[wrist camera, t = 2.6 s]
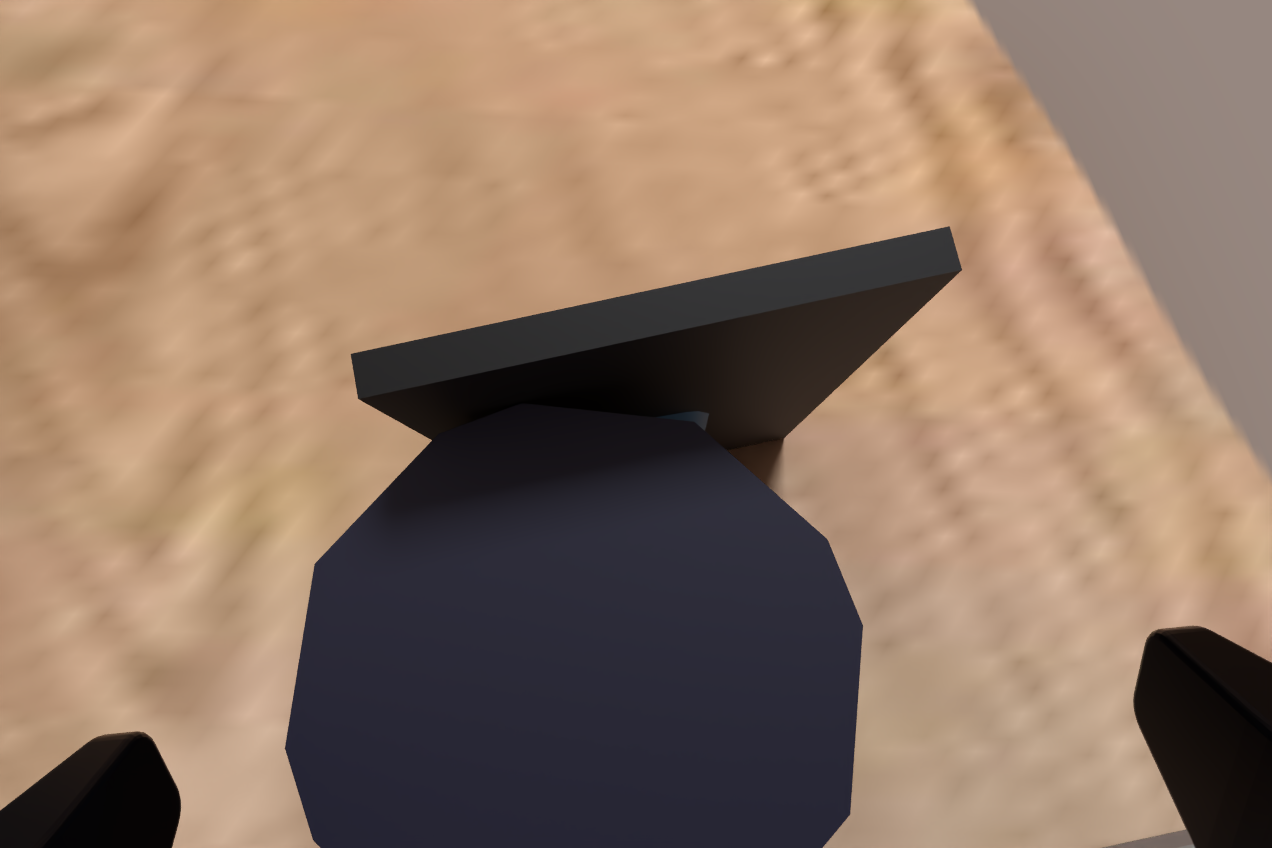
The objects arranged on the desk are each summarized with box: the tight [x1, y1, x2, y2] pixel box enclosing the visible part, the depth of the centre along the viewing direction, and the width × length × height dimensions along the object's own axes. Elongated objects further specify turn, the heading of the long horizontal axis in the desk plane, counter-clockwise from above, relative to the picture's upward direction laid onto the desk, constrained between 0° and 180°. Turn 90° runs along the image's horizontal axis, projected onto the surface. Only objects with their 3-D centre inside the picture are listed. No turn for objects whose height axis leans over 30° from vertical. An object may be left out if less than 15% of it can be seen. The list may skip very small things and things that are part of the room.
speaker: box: [285, 226, 962, 848], centre depth 12 cm, size 8×6×10 cm
